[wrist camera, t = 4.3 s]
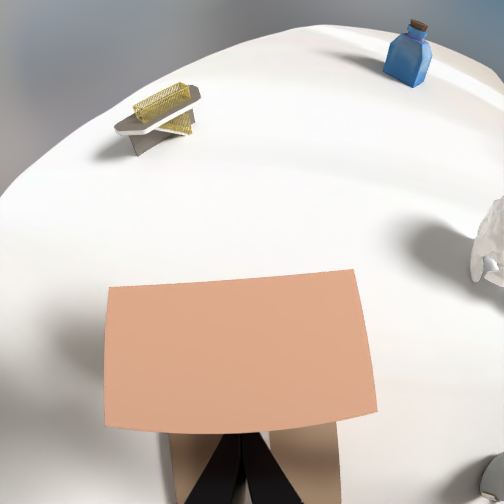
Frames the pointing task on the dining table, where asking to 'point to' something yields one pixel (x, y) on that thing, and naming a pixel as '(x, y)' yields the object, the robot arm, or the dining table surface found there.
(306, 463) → the pipe rig
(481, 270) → the white lumpy figurine
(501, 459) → the reed diffuser
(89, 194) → the dining table surface
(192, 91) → the platform
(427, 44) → the perfume bottle
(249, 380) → the peach rectangular block
